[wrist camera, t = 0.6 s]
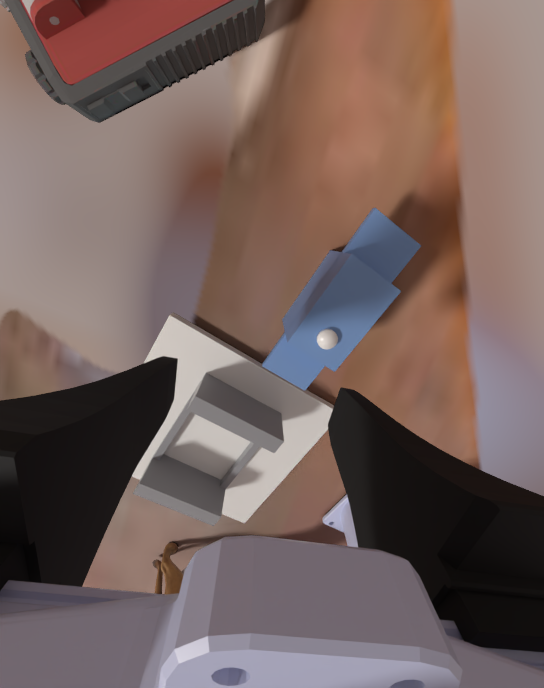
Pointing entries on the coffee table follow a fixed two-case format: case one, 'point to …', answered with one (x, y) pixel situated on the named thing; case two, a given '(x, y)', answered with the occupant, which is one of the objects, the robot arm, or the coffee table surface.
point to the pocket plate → (224, 429)
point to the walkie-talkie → (128, 46)
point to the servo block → (341, 301)
